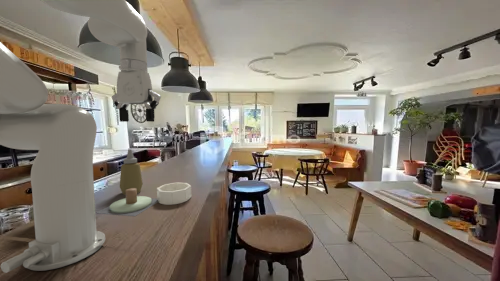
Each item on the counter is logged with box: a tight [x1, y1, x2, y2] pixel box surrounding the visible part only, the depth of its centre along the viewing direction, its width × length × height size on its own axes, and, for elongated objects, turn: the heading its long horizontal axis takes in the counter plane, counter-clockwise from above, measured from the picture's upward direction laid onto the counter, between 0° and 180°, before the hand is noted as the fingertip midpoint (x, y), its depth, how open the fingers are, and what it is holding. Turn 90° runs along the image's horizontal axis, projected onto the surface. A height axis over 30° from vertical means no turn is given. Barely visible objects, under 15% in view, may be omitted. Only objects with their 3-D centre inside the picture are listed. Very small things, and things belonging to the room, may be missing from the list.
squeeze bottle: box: [119, 149, 144, 196], centre depth 79 cm, size 8×8×18 cm
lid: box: [109, 188, 152, 213], centre depth 66 cm, size 12×12×5 cm
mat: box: [95, 197, 159, 217], centre depth 66 cm, size 14×14×1 cm
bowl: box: [156, 182, 192, 206], centre depth 72 cm, size 11×11×5 cm
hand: (137, 121), depth 65 cm, fingers open, 9 cm apart
